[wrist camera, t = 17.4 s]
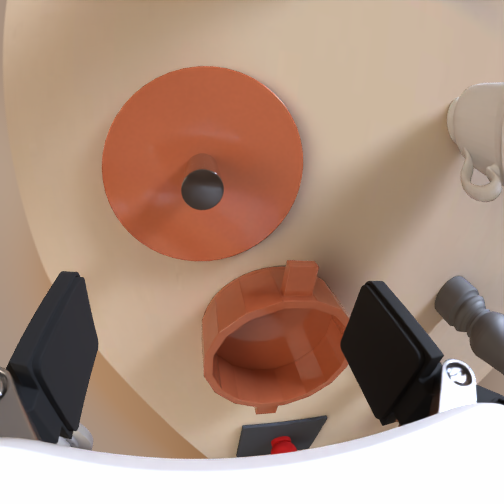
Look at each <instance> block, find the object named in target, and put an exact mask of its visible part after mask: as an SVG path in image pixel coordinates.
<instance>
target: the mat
mask: <svg viewBox="0 0 504 504" xmlns="http://www.w3.org/2000/svg"><path fill="white" fill-rule="evenodd" d="M326 420H327V416H321V417H315V418H308V419H301V420H294V421H286V422H278V423H268V424H257V425H244V426H242V431H241V436H240V440H239V445H238V450H237V454H236V456H237V457H248V456H259V455H268V454H271V449H272V445H271V441H272V440H273V439H275V438H278V437H282V436H288V437H290V439H291V443H292V444H294V445H295V447H296V449H297V450H303V449H309V447H310V446H311V444H312V443H313V441H314V439H315V438H316V436H317V435H318V433H319V431H320V430H321V428H322V426H323V425H324V423H325V421H326Z"/></svg>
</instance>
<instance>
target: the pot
mask: <svg viewBox="0 0 504 504" xmlns="http://www.w3.org/2000/svg"><path fill="white" fill-rule="evenodd" d="M318 269H319V266H318V265H317V263H316V262H315V261H297V260H287V262H286V267H284V266H281V267H269V268H263V269H259V270H255V271H252V272H249V273H247V274H244V275H242V276H240V277H238V278H236V279H234V280H233V281H232V282H230V283H229V284H227V285H226V286H225V287H223V288H222V289H221V290H220V291H219V292H218V293H217V294H216V295H215V296H214V297H213V299H212V300H211V302H210V303H209V305H208V307H207V309H206V311H205V313H204V316H203V319H202V355H203V371H204V377H205V378H206V380H207V381H208V383H209V384H210V386H211V387H212V389H213V390H214V392H215V393H217V394H218V395H220V396H222V397H224V398H226V399H228V400H229V401H231V402H233V403H235V404H241V405H247V406H253V407H255V412H256V414H266V413H275V412H276V410H277V407H278V406H279V405H285V404H288V403H291V402H294V401H297V400H300V399H303V398H306V397H309V396H311V395H312V394H314V393H316V392H317V391H319V390H321V389H322V388H324V387H326V386H327V385H329V384H330V383H332V382H333V381H334V380H335V379H336V378H337V377H338V375H339V374H340V373H341V372H342V371H343V370H344V369H345V368H346V367H347V366H348V362H347V360H346V358H345V356H344V354H343V352H342V351H341V347H340V342H341V339H342V336H343V334H344V331H345V329H346V326H347V324H348V321H349V319H350V317H349V316H348V314H347V312H346V311H345V309H344V308H343V306H342V305H341V303H340V302H339V300H338V299H337V297H336V296H335V294H334V293H333V292H332V291H331V289H330V288H329V286H328V285H327V284H326V283H325V282H324V280H323V279H321V278H319V277H318V276H317V273H318Z"/></svg>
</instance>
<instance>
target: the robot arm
mask: <svg viewBox="0 0 504 504" xmlns="http://www.w3.org/2000/svg"><path fill="white" fill-rule="evenodd" d="M340 347H341V351H342V352H343V354H344V356H345V358H346V360H347V362H348V364H349V366H350V368H351V370H352V372H353V374H354V376H355V378H356V380H357V382H358V384H359V386H360V388H361V390H362V392H363V394H364V396H365V398H366V400H367V402H368V404H369V406H370V408H371V410H372V412H373V414H374V416H375V417H376V418H377V419H379V420H380V422H381V424H382V426H384V425H387V424H390V423H394V422H395V421H396V420H398V422H399V426H398V427H397V428H394V429H391V430H388V431H384V432H381V433H377V434H374V435H370V436H367V437H363V438H359V439H355V440H351V441H347V442H342V443H338V444H333V445H328V446H323V447H318V448H313V449H307V450H301V451H295V452H288V453H280V454H272V455H263V456H252V457H239V458H219V459H169V458H152V457H140V456H130V455H121V454H112V453H105V452H97V451H91V450H85V449H79V448H78V442H77V441H76V439H75V438H74V437H73V436H72V434H73V431H77V429H78V427H79V422H80V417H81V413H82V408H83V403H84V400H85V395H86V391H87V387H88V383H89V379H90V375H91V372H92V368H93V365H94V361H95V357H96V354H97V351H98V338H97V334H96V330H95V326H94V322H93V317H92V313H91V309H90V304H89V299H88V294H87V289H86V284H85V279H84V278H83V277H80V275H79V273H78V272H66V271H62V272H61V273H60V274H59V275H58V277H57V278H56V280H55V282H54V283H53V285H52V286H51V288H50V289H49V291H48V293H47V294H46V296H45V297H44V299H43V301H42V302H41V304H40V306H39V307H38V309H37V311H36V312H35V314H34V316H33V318H32V319H31V321H30V323H29V325H28V327H27V328H26V330H25V332H24V334H23V336H22V337H21V339H20V342H19V343H18V345H17V347H16V349H15V351H14V353H13V355H12V357H11V359H10V361H9V363H8V365H7V367H6V369H5V368H2V367H0V504H504V396H502V395H500V394H498V393H495V392H493V391H490V390H488V389H486V388H483V387H481V386H478V385H476V379H475V375H474V373H473V371H472V369H471V368H470V367H469V366H468V365H467V364H465V363H464V362H462V361H460V360H457V359H448V360H446V361H445V362H444V363H443V365H441V363H440V360H441V359H442V357H443V356H444V355H443V353H442V352H441V351H440V349H439V348H438V347H437V345H436V344H435V343H434V342H433V340H432V339H431V338H430V337H429V335H428V334H427V333H426V332H425V330H424V329H423V328H422V327H421V325H420V324H419V323H418V322H417V321H416V319H415V318H414V317H413V316H412V315H411V313H410V312H409V311H408V310H407V309H406V307H405V306H404V305H403V304H402V303H401V301H400V300H399V299H398V298H397V297H396V296H395V294H394V293H393V292H392V291H391V290H390V289H389V288H388V286H387V285H386V284H385V283H384V282H383V281H368V282H366V283H365V285H363V286H362V287H361V289H360V292H359V295H358V297H357V300H356V303H355V305H354V308H353V311H352V313H351V316H350V319H349V321H348V324H347V326H346V329H345V331H344V334H343V336H342V339H341V342H340Z"/></svg>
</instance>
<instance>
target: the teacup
mask: <svg viewBox="0 0 504 504" xmlns="http://www.w3.org/2000/svg"><path fill="white" fill-rule="evenodd" d="M447 127H448V131H449V134H450V136H451V139H452V140H453V142H454V143H455V144H456V145H458V148H459V150H460V152H461V154H462V155H463V157H464V158H465V162H464V165H463V167H462V170H461V177H460V178H461V183H462V186H463V189H464V190H465V192H466V193H467V194H468V195H469V196H470V197H471V198H473V199H475V200H477V201H481V202H489V201H492V200H494V199H496V198H497V197H498V196H499V195H500V193H501V190H502V186H503V187H504V82H497V83H481V84H476V85H473V86H470V87H468V88H467V89H466V90H464V92H463V93H462V94H461V95H460V97H458V98H456V99H455V100H453V102H452V103H451V105H450V107H449V110H448V115H447ZM473 167H474V168H476V169H477V170H478V171H480V172H481V173H483V174H485V175H486V176H487V177H488V179H489V181H490V183H489V184H487V185H484V186H477V185H474V184H472V183H471V177H472V173H473Z"/></svg>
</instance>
